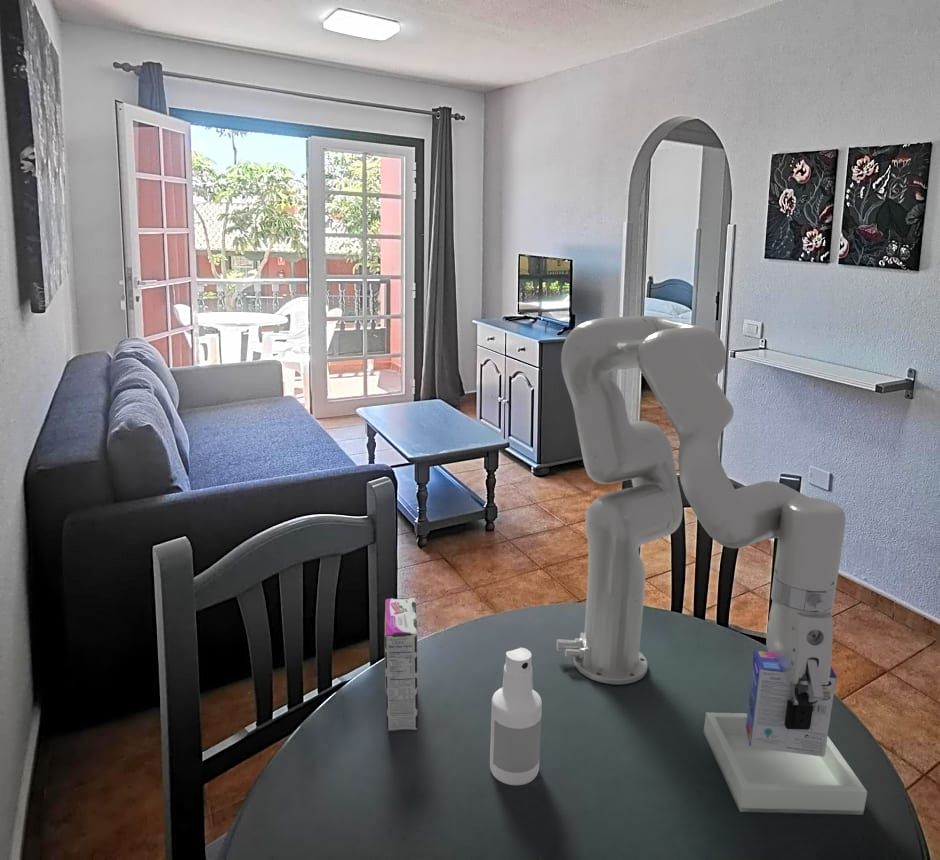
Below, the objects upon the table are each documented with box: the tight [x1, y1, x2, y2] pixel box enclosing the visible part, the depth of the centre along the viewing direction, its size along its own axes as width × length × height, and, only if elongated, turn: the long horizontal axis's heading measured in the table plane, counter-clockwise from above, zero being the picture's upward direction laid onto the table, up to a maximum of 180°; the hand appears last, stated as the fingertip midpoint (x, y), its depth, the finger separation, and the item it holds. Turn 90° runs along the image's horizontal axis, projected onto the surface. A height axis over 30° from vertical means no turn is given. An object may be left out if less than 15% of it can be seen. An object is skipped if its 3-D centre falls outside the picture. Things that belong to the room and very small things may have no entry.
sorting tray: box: [703, 711, 868, 816], centre depth 104 cm, size 16×16×4 cm
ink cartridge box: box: [746, 649, 838, 757], centre depth 101 cm, size 10×6×14 cm, turn 79°
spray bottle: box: [489, 647, 543, 786], centre depth 101 cm, size 7×7×18 cm
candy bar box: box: [384, 597, 419, 732], centre depth 114 cm, size 11×5×16 cm, turn 6°
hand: (786, 711), depth 102 cm, fingers closed on ink cartridge box, 6 cm apart
